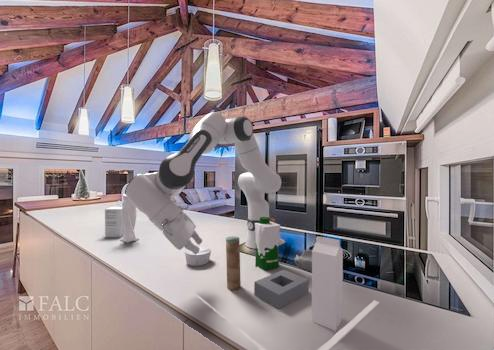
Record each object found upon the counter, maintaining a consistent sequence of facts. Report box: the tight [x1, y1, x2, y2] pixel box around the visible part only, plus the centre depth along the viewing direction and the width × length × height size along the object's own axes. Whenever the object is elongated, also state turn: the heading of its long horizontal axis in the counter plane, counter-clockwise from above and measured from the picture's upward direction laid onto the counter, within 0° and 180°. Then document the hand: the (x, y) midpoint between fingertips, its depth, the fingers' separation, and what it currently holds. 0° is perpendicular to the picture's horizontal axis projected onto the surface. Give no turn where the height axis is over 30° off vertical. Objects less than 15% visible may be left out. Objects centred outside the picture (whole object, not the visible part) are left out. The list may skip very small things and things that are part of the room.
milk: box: [311, 235, 344, 332], centre depth 60 cm, size 6×6×22 cm
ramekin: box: [184, 245, 212, 267], centre depth 100 cm, size 11×11×5 cm
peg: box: [225, 235, 242, 291], centre depth 76 cm, size 4×4×17 cm
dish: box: [294, 249, 313, 273], centre depth 96 cm, size 14×14×5 cm
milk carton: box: [254, 217, 281, 272], centre depth 94 cm, size 9×9×20 cm
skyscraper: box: [119, 193, 140, 244], centre depth 130 cm, size 8×8×28 cm
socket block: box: [253, 269, 310, 310], centre depth 72 cm, size 14×10×5 cm
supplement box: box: [104, 206, 124, 238], centre depth 142 cm, size 10×9×17 cm
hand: (199, 247), depth 75 cm, fingers open, 8 cm apart
